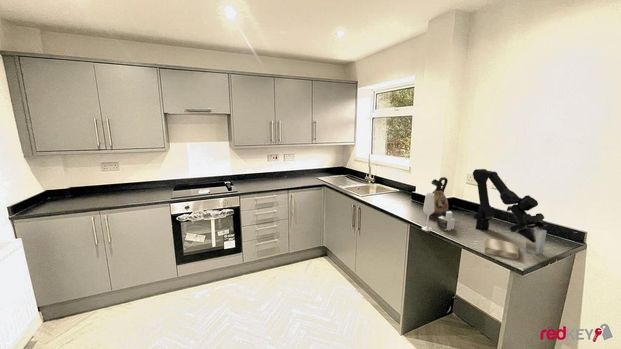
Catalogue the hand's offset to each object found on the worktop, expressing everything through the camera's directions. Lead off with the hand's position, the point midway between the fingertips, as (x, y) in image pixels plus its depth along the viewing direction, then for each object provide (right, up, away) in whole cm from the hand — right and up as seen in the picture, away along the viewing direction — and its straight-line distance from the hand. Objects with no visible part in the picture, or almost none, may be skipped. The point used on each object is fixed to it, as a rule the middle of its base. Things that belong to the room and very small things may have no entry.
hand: (538, 241), depth 134 cm
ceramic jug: (-25, +4, +58) cm, 63 cm away
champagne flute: (-43, -1, +34) cm, 55 cm away
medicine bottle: (-30, -1, +36) cm, 46 cm away
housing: (0, -6, +3) cm, 7 cm away
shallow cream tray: (-17, -6, +5) cm, 18 cm away
